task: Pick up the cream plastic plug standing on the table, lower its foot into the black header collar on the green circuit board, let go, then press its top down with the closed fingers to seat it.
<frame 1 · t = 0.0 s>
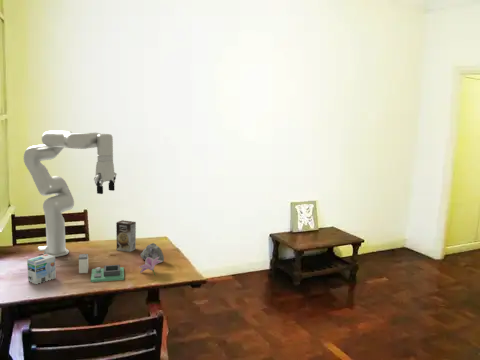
hand: (105, 192, 241), 37 cm above the table, tool pointing down, fingers open, 9 cm apart
light bulb box: (42, 280, 221), on the table
coffee box: (126, 249, 268), on the table
mineral rock: (152, 261, 251), on the table
board: (107, 275, 228), on the table
lily: (150, 274, 233), on the table
plug: (83, 271, 233), on the table
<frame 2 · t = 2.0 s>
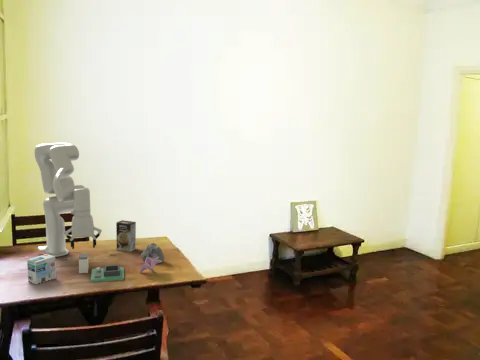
hand: (83, 247, 230), 12 cm above the table, tool pointing down, fingers open, 9 cm apart
nothing on the table moved.
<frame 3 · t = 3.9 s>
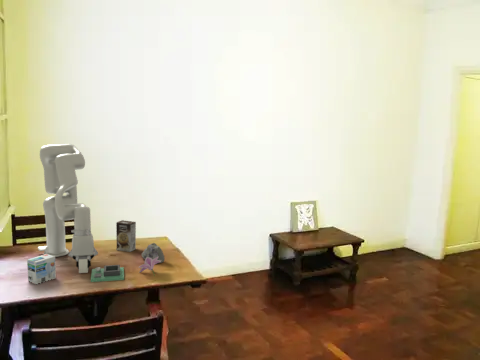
hand: (83, 267, 233), 2 cm above the table, tool pointing down, fingers closed on plug, 3 cm apart
plug: (83, 271, 233), on the table, touching gripper
everything else where it was.
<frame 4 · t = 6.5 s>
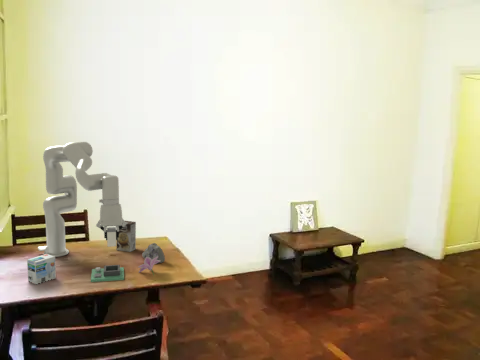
hand: (111, 238, 226), 18 cm above the table, tool pointing down, fingers closed on plug, 4 cm apart
plug: (111, 244, 226), point 15 cm above the table, touching gripper
everything else where it was.
when the fingers open (4 cm above the table, at t = 9.1 s): plug stays where it is, resting on board.
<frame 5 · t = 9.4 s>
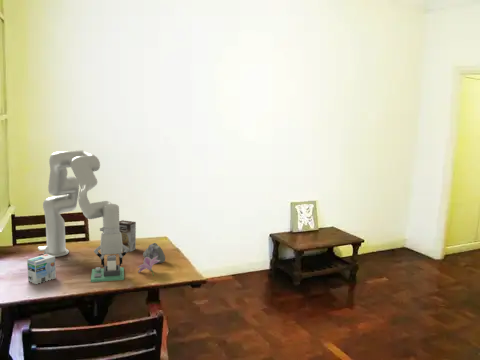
hand: (111, 265, 228), 5 cm above the table, tool pointing down, fingers open, 7 cm apart
plug: (111, 272, 229), point 1 cm above the table, touching board
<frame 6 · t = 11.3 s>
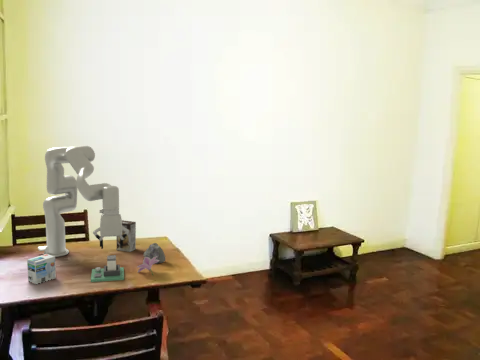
hand: (111, 247, 226), 14 cm above the table, tool pointing down, fingers open, 8 cm apart
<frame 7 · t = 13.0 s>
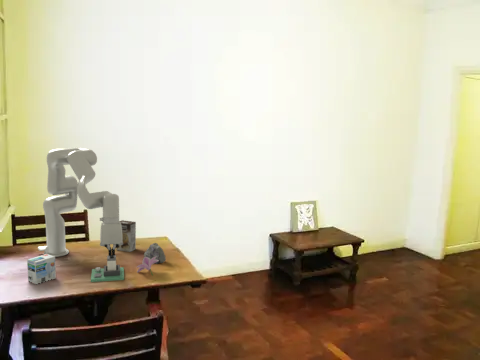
hand: (111, 257, 227), 9 cm above the table, tool pointing down, fingers closed
plug: (111, 272, 229), point 1 cm above the table, touching board, gripper
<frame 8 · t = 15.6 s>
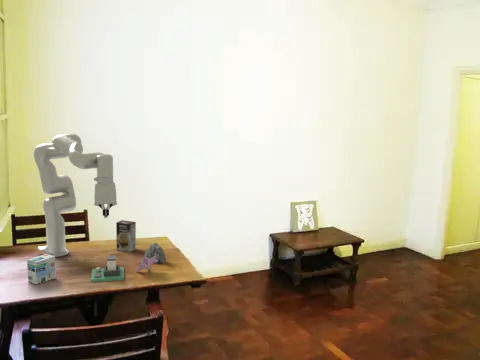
hand: (105, 216, 231), 27 cm above the table, tool pointing down, fingers closed
plug: (111, 272, 229), point 1 cm above the table, touching board
at the end: plug 0.0 cm from the target spot on the board, point 1.2 cm above the board's base; plug tilted 0°; the gripper is holding nothing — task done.
